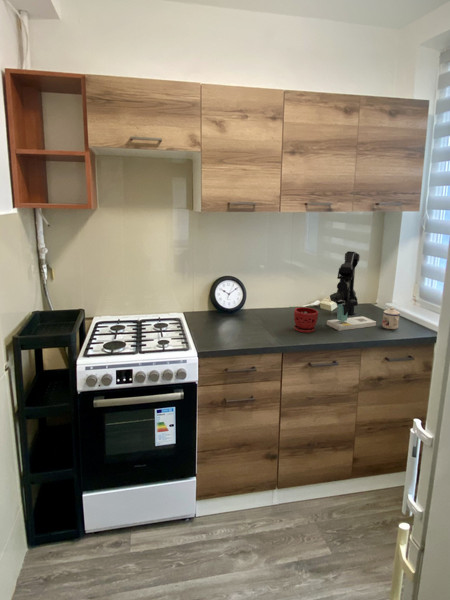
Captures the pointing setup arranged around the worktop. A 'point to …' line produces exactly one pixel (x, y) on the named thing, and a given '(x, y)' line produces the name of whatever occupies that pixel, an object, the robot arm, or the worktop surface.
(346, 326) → the panel
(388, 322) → the teacup with lid
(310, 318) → the plant pot
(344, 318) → the plug
